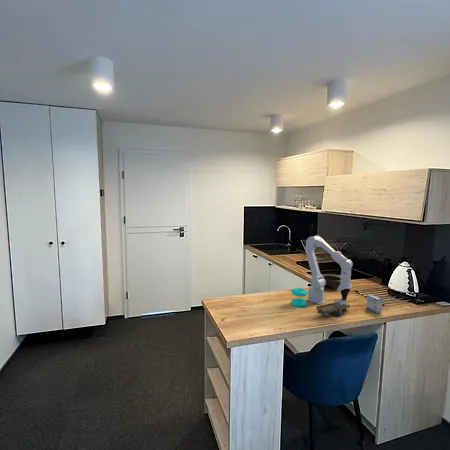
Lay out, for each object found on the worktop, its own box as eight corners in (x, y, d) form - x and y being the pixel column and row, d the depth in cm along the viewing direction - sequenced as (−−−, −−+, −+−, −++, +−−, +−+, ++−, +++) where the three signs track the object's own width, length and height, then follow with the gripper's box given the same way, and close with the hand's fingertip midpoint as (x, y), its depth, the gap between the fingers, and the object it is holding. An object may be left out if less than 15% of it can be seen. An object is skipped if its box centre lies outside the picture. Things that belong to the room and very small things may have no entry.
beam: (315, 312, 179) (316, 305, 179) (338, 307, 196) (339, 301, 196) (326, 316, 174) (327, 309, 174) (349, 310, 190) (350, 304, 190)
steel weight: (333, 305, 189) (334, 298, 189) (339, 303, 193) (340, 297, 193) (340, 307, 185) (341, 300, 185) (346, 306, 190) (347, 299, 190)
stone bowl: (347, 292, 224) (347, 280, 223) (312, 290, 232) (312, 278, 231) (346, 282, 247) (346, 271, 246) (314, 281, 255) (313, 270, 254)
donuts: (289, 290, 195) (294, 286, 203) (288, 305, 196) (294, 300, 204) (304, 293, 189) (309, 289, 198) (303, 308, 190) (308, 304, 199)
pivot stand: (321, 311, 187) (321, 305, 186) (335, 305, 197) (336, 299, 196) (337, 317, 178) (338, 311, 178) (351, 311, 188) (352, 305, 188)
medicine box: (366, 308, 194) (367, 295, 192) (371, 307, 195) (372, 294, 194) (376, 313, 186) (377, 299, 185) (381, 312, 188) (382, 298, 187)
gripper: (345, 282, 183) (344, 304, 184) (357, 278, 192) (356, 299, 193) (334, 279, 188) (333, 301, 190) (346, 275, 197) (345, 296, 199)
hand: (344, 299), depth 192 cm, fingers closed
